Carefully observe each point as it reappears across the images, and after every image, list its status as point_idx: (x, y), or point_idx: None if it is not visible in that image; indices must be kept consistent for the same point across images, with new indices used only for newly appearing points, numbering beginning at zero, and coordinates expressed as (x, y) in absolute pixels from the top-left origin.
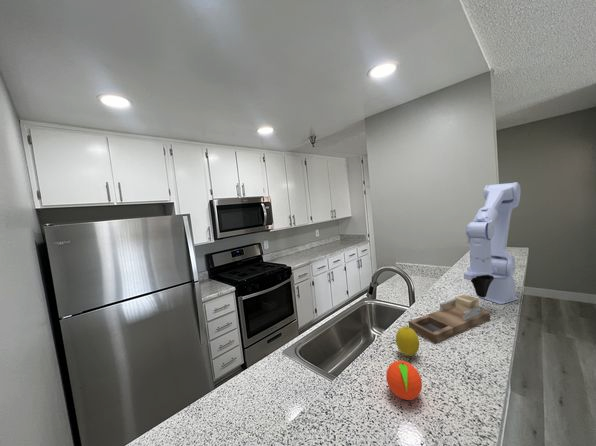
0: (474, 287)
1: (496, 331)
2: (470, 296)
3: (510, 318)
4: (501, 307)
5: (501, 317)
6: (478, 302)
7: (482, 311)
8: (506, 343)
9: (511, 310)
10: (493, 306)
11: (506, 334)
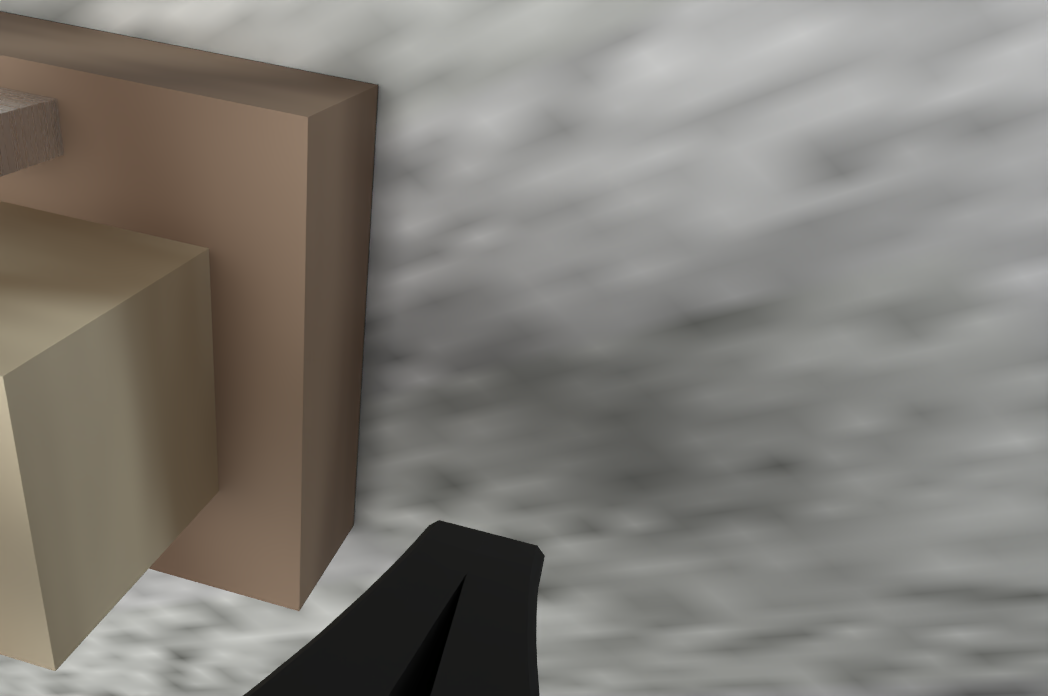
0: (269, 676)
1: (139, 614)
2: (23, 524)
3: (607, 685)
4: (996, 567)
5: (553, 610)
6: (103, 606)
7: (241, 532)
8: (17, 691)
9: (944, 679)
10: (962, 468)
11: (166, 681)
